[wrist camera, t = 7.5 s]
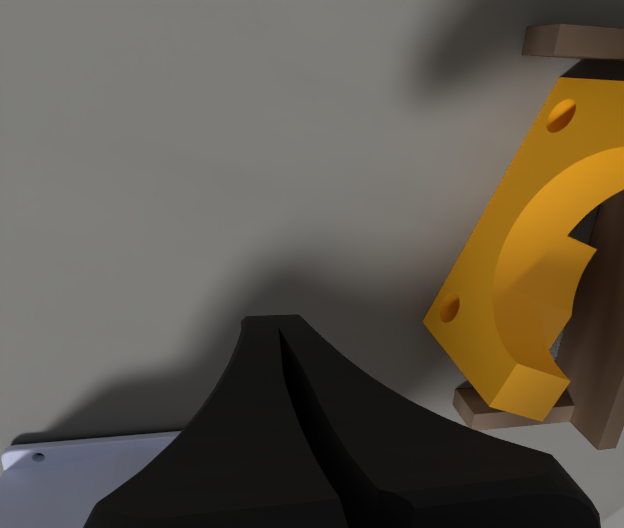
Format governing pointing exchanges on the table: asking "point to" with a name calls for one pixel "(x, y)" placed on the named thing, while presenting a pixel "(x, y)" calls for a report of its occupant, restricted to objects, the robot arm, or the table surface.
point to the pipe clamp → (532, 250)
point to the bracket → (581, 290)
